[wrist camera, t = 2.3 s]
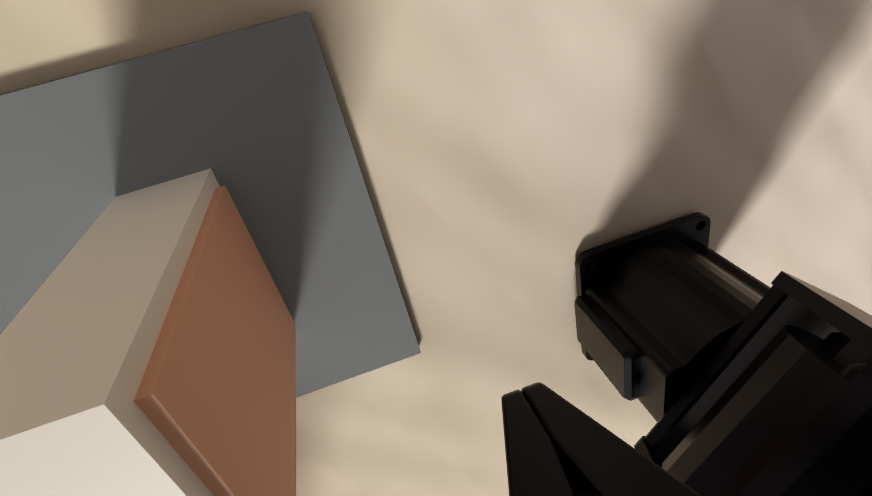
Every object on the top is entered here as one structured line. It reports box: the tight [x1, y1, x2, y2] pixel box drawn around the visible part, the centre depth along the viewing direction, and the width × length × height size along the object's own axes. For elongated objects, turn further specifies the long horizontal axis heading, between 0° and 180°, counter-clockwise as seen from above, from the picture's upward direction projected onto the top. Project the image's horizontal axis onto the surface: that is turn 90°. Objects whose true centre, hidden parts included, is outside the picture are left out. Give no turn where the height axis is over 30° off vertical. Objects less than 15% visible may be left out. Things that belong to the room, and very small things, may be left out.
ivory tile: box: [0, 168, 296, 496], centre depth 13 cm, size 3×7×10 cm, turn 12°
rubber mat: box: [0, 12, 421, 397], centre depth 17 cm, size 19×14×1 cm
